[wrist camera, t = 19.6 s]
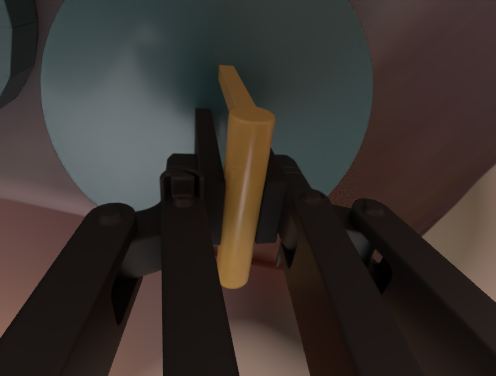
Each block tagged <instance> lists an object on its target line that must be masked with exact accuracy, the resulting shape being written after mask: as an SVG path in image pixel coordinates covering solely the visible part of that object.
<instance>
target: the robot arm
mask: <svg viewBox="0 0 496 376" xmlns="http://www.w3.org/2000/svg"><path fill="white" fill-rule="evenodd" d="M159 181H160V198H161V201H160V202H159V203H158V204H156V205H155V206H153V207H151V208H148V209H145V210H141V211H136V212H135V210H134V208H133V207H131V206H129V205H128V204H124V203H107V204H103V205H100V206H98V207H96V208H94V209H92V210H91V211H90V212H89V213H88V214H87V215H86V217H85V218H84V220H83V221H82V223H81V224H80V226H79V227H78V228H77V230H76V231H75V233H74V234H73V235H72V237H71V238H70V240H69V241H68V243H67V244H66V246H65V247H64V248H63V250H62V251H61V252H60V254H59V255H58V257H57V258H56V260H55V261H54V262H53V264H52V265H51V267H50V268H49V270H48V271H47V273H46V274H45V275H44V277H43V278H42V280H41V281H40V282H39V284H38V286H37V287H36V288H35V290H34V291H33V292H32V294H31V295H30V297H29V298H28V300H27V301H26V302H25V304H24V305H23V307H22V308H21V310H20V311H19V312H18V314H17V315H16V317H15V318H14V319H13V321H12V322H11V324H10V325H9V327H8V328H7V329H6V331H5V332H4V334H3V335H2V337H1V338H0V376H108V374H109V371H110V368H111V366H112V363H113V360H114V358H115V355H116V352H117V349H118V346H119V343H120V341H121V338H122V335H123V332H124V329H125V327H126V324H127V321H128V318H129V316H130V313H131V310H132V307H133V304H134V302H135V299H136V296H137V293H138V291H139V288H140V285H141V282H142V279H143V276H144V275H147V274H150V273H154V272H157V271H159V270H162V327H163V328H162V330H163V331H162V334H163V376H239V372H238V366H237V361H236V357H235V352H234V347H233V342H232V337H231V332H230V327H229V323H228V317H227V312H226V307H225V303H224V298H223V293H222V288H221V283H220V278H219V273H218V268H217V263H216V258H215V253H214V248H213V245H220V242H221V231H222V219H223V207H224V195H225V184H226V182H225V179H224V172H223V167H222V162H221V157H220V152H219V147H218V142H217V137H216V132H215V127H214V122H213V117H212V112H211V109H203V108H195V151H194V154H186V153H173V154H172V155H171V156H170V157H169V158H168V159H167V164H166V171H164V172H163V173H162V174H161V176H160V178H159ZM277 233H279V236H280V238H281V242H280V246H279V251H278V255H277V259H276V267H279V263H280V260H281V262H282V266H283V270H284V274H285V278H286V282H287V285H288V290H289V293H290V297H291V301H292V305H293V309H294V313H295V317H296V321H297V325H298V329H299V333H300V337H301V341H302V345H303V349H304V353H305V357H306V361H307V365H308V369H309V372H310V376H496V302H495V301H493V300H492V299H491V298H490V297H489V296H488V295H487V294H485V293H484V292H483V291H482V290H481V289H480V288H479V287H478V286H476V285H475V284H474V283H473V282H472V281H471V280H470V279H468V278H467V277H466V276H465V275H464V274H463V273H462V272H461V271H459V270H458V269H457V268H456V267H455V266H454V265H453V264H451V263H450V262H449V261H448V260H447V259H446V258H445V257H443V256H442V255H441V254H440V253H439V252H438V251H437V250H436V249H434V248H433V247H432V246H431V245H430V244H429V243H428V242H426V241H425V240H424V239H423V238H422V237H421V236H420V235H419V234H417V233H416V232H415V231H414V230H413V229H412V228H411V227H409V226H408V225H407V224H406V223H405V222H404V221H403V220H402V219H400V218H399V217H398V216H397V215H396V214H395V213H394V212H392V211H391V210H390V209H389V208H388V207H386V206H385V205H384V204H382V203H380V202H378V201H376V200H373V199H372V200H371V199H358V200H355V202H354V203H353V205H352V208H347V207H341V206H336V205H333V204H331V202H330V200H329V198H328V197H327V196H326V195H325V194H324V193H322V192H320V191H318V190H315V189H312V188H311V186H310V185H309V183H308V181H307V180H306V178H305V176H304V175H303V174H302V171H301V170H300V168H299V166H298V165H297V163H296V161H295V160H294V159H292V158H291V157H290V156H288V155H281V154H274V152H273V150H272V148H271V149H270V155H269V160H268V166H267V172H266V178H265V184H264V190H263V196H262V201H261V207H260V213H259V219H258V225H257V231H256V236H255V242H256V244H259V243H275V242H276V238H277ZM376 251H378V252H379V253H380V254H381V255H382V256H383V258H382V260H381V262H380V263H378V262H377V261H375V260H374V258H373V257H374V255H375V253H376Z"/></svg>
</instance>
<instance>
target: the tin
mask: <svg viewBox="0 0 496 376" xmlns="http://www.w3.org/2000/svg"><path fill="white" fill-rule="evenodd" d="M37 24H38V22H37V15H36V10H35V4H34V0H0V109H1V108H2V107H4V106H5V105H6V104H8V103H9V102H10V101H12V100H13V99H14V98H16V97H17V96H18V94H19V92H20V90H21V88H22V87H23V85H24V84H25V82H26V80H27V78H28V76H29V74H30V72H31V70H32V68H33V66H34V60H35V55H36V47H37V37H38V34H37Z"/></svg>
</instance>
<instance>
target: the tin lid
mask: <svg viewBox="0 0 496 376" xmlns="http://www.w3.org/2000/svg"><path fill="white" fill-rule="evenodd" d="M40 93H41V106H42V111H43V116H44V121H45V126H46V129H47V132H48V134H49V137H50V140H51V143H52V146H53V148H54V150H55V152H56V154H57V156H58V158H59V160H60V162H61V164H62V165H63V167H64V168H65V170H66V171H67V173H68V174H69V176H70V177H71V179H72V180H73V181H74V183H75V184H76V185H77V186H78V187H79V188H80V189H81V191H82V192H83V193H84V194H85V195H86V196H87V197H88V198H89V199H90V200H91V201H92V202H93V203H95V204H96V205H97V206H100V205H103V204H107V203H124V204H128V205H129V206H131V207H133V208H134V210H135V212H136V211H141V210H145V209H148V208H151V207H153V206H155V205H156V204H158V203H159V202H160V201H161V198H160V181H159V178H160V176H161V174H162V173H163V172H164V171H166V164H167V159H168V158H169V157H170V156H171V155H172V154H173V153H186V154H194V151H195V108H203V109H211V112H212V117H213V122H214V127H215V132H216V137H217V142H218V147H219V152H220V157H221V162H222V167H223V172H224V179H225V182H226V184H225V195H224V207H223V219H222V231H221V242H220V245H218V254H217V268H218V273H219V278H220V283H221V285H222V286H224V287H226V288H229V289H236V288H240V287H242V286H243V285H244V284H245V283H246V282H247V281H248V277H249V271H250V266H251V260H252V254H253V248H254V242H255V236H256V231H257V225H258V219H259V213H260V207H261V201H262V196H263V190H264V184H265V178H266V172H267V166H268V160H269V155H270V149H271V148H272V150H273V152H274V154H281V155H288V156H290V157H291V158H292V159H294V160H295V161H296V163H297V165H298V166H299V168H300V170H301V171H302V174H303V175H304V176H305V178H306V180H307V181H308V183H309V185H310V186H311V188H312V189H315V190H318V191H320V192H322V193H324V194H325V195H326V196H328V195H329V193H330V192H331V191H332V190H333V189H334V188H335V187H336V186H337V184H338V183H339V182H340V181H341V179H342V178H343V176H344V175H345V173H346V172H347V171H348V169H349V168H350V166H351V164H352V162H353V160H354V159H355V157H356V155H357V153H358V151H359V148H360V146H361V144H362V141H363V139H364V136H365V133H366V129H367V126H368V122H369V118H370V112H371V106H372V99H373V73H372V62H371V57H370V52H369V48H368V44H367V39H366V36H365V34H364V31H363V29H362V26H361V23H360V21H359V18H358V16H357V14H356V13H355V11H354V9H353V7H352V6H351V4H350V2H349V0H64V1H63V3H62V4H61V6H60V8H59V10H58V12H57V14H56V17H55V19H54V21H53V23H52V25H51V27H50V29H49V33H48V37H47V40H46V44H45V47H44V51H43V55H42V64H41V73H40ZM213 246H217V245H213Z"/></svg>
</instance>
